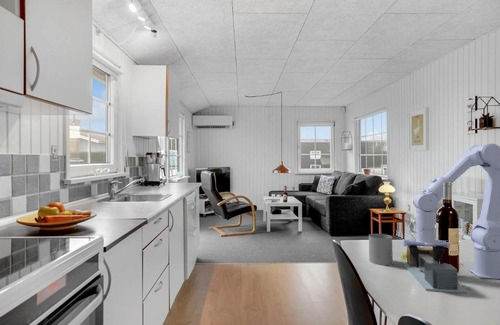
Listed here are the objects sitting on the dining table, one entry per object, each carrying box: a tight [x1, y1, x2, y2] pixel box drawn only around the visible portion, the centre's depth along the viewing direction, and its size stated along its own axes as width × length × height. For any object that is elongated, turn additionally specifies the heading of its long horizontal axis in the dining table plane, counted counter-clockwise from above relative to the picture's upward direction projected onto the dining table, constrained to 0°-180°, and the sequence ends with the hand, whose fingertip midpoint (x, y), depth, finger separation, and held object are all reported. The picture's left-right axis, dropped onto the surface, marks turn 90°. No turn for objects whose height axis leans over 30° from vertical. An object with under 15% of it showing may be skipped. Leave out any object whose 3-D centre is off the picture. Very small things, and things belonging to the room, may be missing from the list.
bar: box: [419, 252, 441, 272], centre depth 108 cm, size 4×17×5 cm, turn 168°
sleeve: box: [424, 262, 459, 290], centre depth 98 cm, size 6×8×6 cm
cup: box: [368, 233, 394, 266], centre depth 123 cm, size 8×8×10 cm
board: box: [402, 262, 468, 294], centre depth 106 cm, size 11×25×1 cm, turn 168°
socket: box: [406, 246, 434, 266], centre depth 116 cm, size 8×4×6 cm, turn 78°
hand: (426, 267), depth 110 cm, fingers open, 5 cm apart
